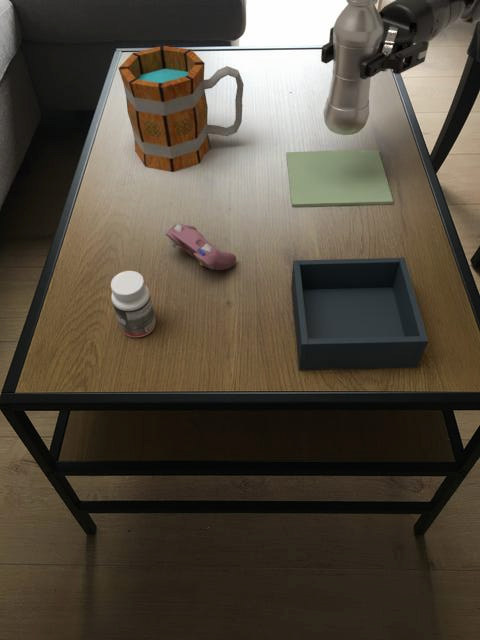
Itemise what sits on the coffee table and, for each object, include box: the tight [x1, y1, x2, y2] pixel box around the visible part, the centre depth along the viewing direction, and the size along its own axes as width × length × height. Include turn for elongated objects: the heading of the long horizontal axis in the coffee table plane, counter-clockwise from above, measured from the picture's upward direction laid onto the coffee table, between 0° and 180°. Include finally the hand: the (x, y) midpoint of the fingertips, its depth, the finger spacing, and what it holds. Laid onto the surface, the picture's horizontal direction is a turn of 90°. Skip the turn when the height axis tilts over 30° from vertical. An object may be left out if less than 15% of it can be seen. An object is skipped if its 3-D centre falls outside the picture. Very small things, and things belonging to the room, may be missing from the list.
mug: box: [118, 45, 245, 173], centre depth 90 cm, size 20×14×15 cm
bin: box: [290, 257, 429, 371], centre depth 68 cm, size 15×14×6 cm
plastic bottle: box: [323, 0, 384, 136], centre depth 75 cm, size 6×7×20 cm
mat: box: [285, 149, 394, 208], centre depth 90 cm, size 16×14×1 cm
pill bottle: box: [110, 270, 157, 338], centre depth 68 cm, size 5×5×8 cm
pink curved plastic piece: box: [165, 222, 237, 270], centre depth 77 cm, size 10×5×7 cm, turn 45°
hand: (343, 63), depth 73 cm, fingers closed on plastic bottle, 6 cm apart
